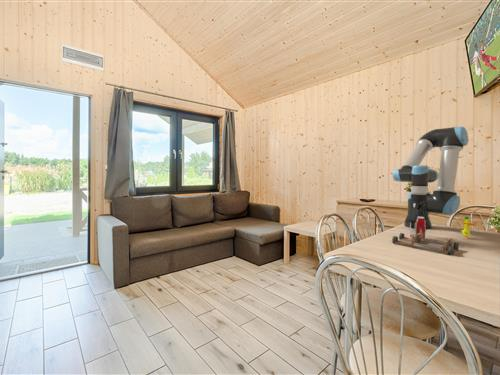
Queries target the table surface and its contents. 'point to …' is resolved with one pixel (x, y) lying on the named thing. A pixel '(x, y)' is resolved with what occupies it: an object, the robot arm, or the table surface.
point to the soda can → (420, 227)
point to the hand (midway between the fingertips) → (417, 232)
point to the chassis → (426, 244)
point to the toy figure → (466, 225)
